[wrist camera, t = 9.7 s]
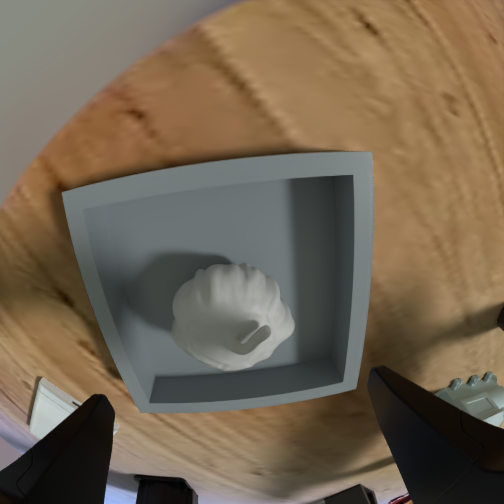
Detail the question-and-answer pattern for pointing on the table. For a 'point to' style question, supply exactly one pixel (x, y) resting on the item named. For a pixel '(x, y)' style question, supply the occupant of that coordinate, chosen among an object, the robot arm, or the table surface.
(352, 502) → the phone stand
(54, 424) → the hard drive
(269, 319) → the garlic
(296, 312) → the tray
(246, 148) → the table surface
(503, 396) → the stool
